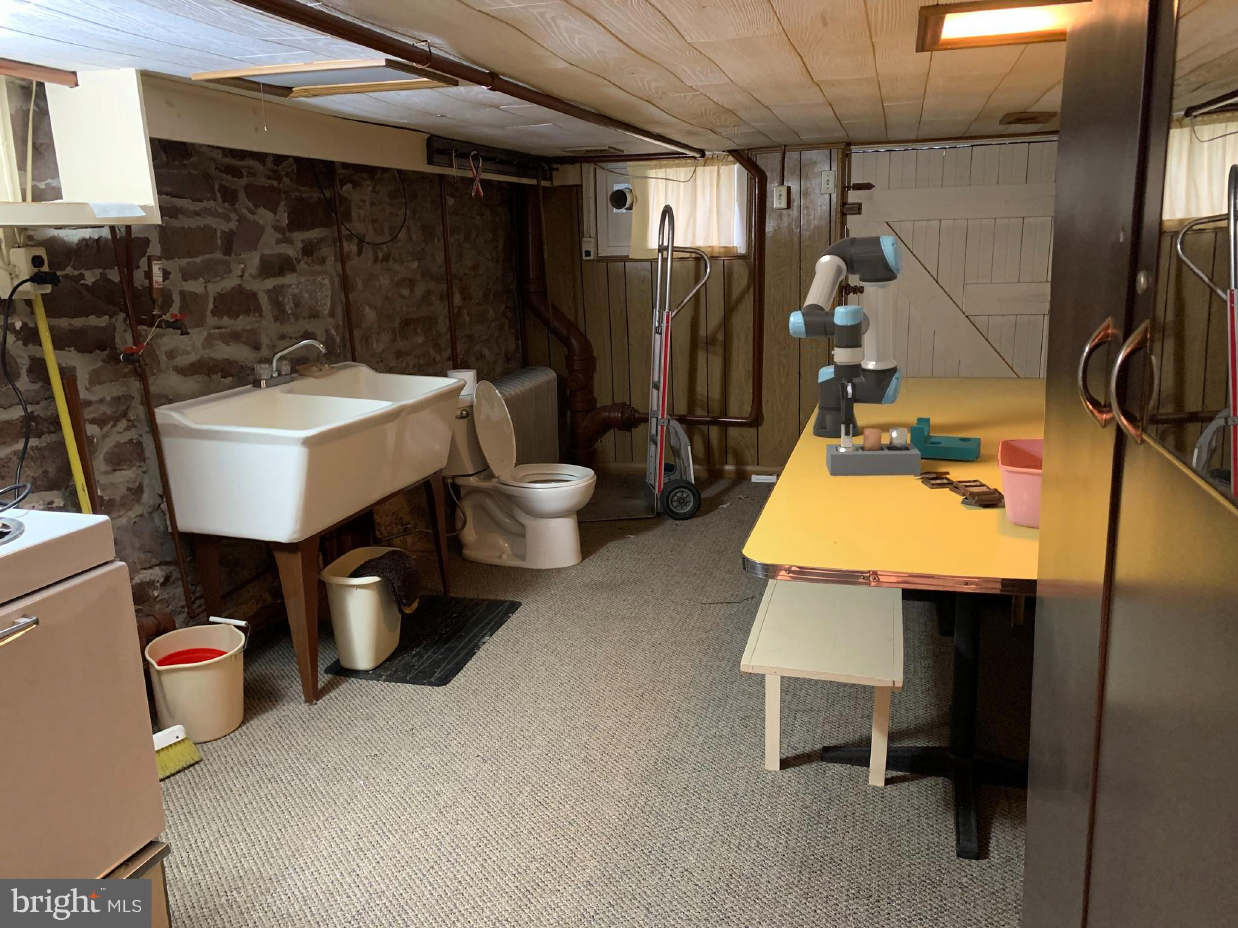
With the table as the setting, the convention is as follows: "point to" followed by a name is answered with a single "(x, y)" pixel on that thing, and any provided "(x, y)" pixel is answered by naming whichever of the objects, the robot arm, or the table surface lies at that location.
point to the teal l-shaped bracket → (943, 443)
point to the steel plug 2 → (898, 439)
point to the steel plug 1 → (846, 448)
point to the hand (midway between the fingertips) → (846, 446)
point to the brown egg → (872, 439)
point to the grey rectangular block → (872, 461)
